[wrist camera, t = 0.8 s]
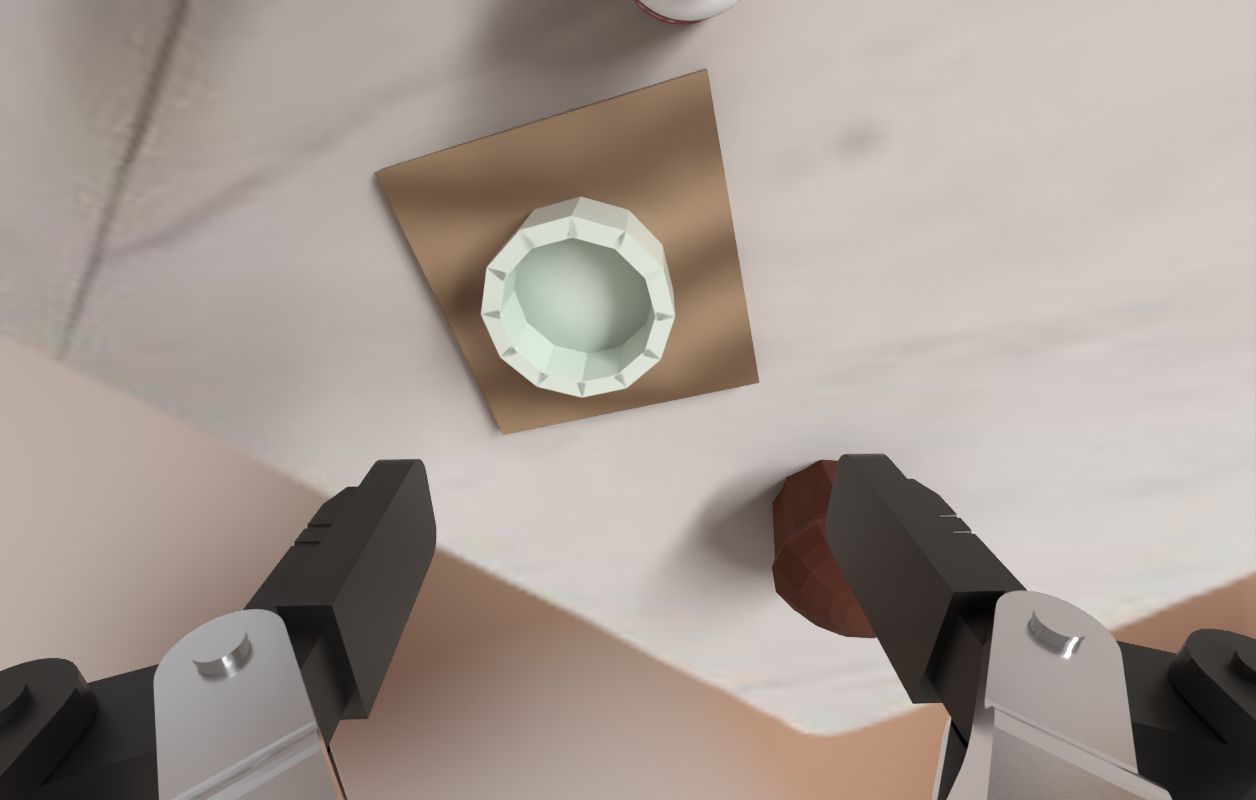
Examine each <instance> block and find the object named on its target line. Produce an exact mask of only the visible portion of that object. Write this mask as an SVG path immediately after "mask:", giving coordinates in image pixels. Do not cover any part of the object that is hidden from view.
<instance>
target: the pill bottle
mask: <svg viewBox="0 0 1256 800" xmlns="http://www.w3.org/2000/svg"><path fill="white" fill-rule="evenodd" d="M634 1H635V2H636V3H637V4H638V5H639V6H640V7H641V8H642V9H643V10H644V11H645V12H647V13H648V14H649V15H651V16H652V17H654V18H656V19H658V20H660V21H663V22H666V23H670V24H679V25H685V24H692V23H696V22H700V21H702V20H705V19H708V18H711V17H714V16H716V15H718V14H720V13H722V12H724V11H726V10H728V9H730V8H731V7H733V6H734V5H736V4H737V3H738V2H740V1H741V0H634Z"/></svg>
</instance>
